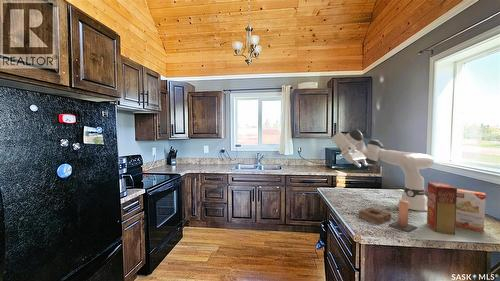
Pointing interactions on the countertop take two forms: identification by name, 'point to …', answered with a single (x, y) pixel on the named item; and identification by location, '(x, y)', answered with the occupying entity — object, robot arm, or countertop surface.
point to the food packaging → (441, 207)
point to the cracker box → (470, 209)
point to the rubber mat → (407, 229)
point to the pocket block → (375, 215)
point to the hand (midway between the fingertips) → (363, 166)
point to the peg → (403, 213)
